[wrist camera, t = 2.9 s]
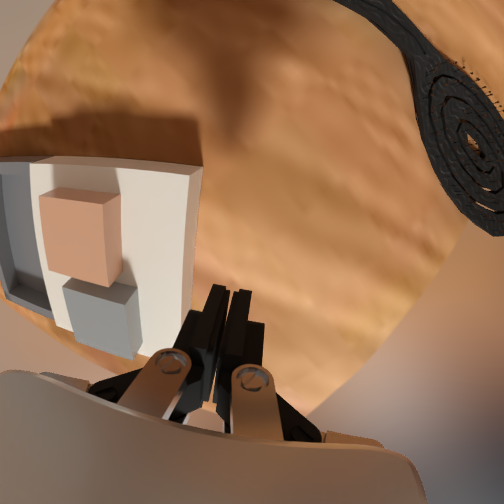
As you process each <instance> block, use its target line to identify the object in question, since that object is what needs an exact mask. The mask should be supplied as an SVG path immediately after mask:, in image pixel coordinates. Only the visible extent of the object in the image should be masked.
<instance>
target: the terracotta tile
mask: <svg viewBox="0 0 504 504" xmlns="http://www.w3.org/2000/svg"><path fill="white" fill-rule="evenodd" d="M39 208H40V218H41V227H42V234H43V241H44V247H45V253H46V259H47V264H48V269H49V271H53V272H56V273H59V274H63V275H66V276H69V277H73V278H76V279H80V280H83V281H87V282H90V283H94V284H98V285H101V286H105V287H110V286H111V284H112V283H113V282H114V281H115V280H116V279H117V278H118V276H119V275H120V274H121V273H122V272H123V259H122V238H121V194H116V193H107V192H99V191H90V190H81V189H72V188H62V187H58V188H55V189H53V190H51V191H48V192H46V193H44V194H42V195H40V196H39Z"/></svg>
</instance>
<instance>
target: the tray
mask: <svg viewBox="0 0 504 504" xmlns="http://www.w3.org/2000/svg"><path fill="white" fill-rule="evenodd" d="M50 157H53V156H7V157H0V280H1V284H2V287H3V290H4V293H5V297H6V299H8V300H10V301H12V302H14V303H16V304H18V305H20V306H22V307H25V308H27V309H29V310H31V311H34V312H36V313H38V314H41V315H43V316H45V317H48V318H50V319H53V320H55V319H54V315H53V312H52V309H51V305H50V301H49V298H48V294H47V290H46V286H45V282H44V277H43V273H42V268H41V263H40V258H39V253H38V247H37V241H36V235H35V228H34V220H33V211H32V200H31V187H30V163H33V162H36V161H40V160H43V159H46V158H50Z"/></svg>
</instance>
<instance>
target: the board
mask: <svg viewBox="0 0 504 504" xmlns="http://www.w3.org/2000/svg"><path fill="white" fill-rule="evenodd" d="M202 174H203V167H201V166H193V165H185V164H176V163H167V162H157V161H146V160H134V159H121V158H105V157H83V156H53V157H50V158H46V159H43V160H40V161H36V162H33V163H30V187H31V200H32V211H33V220H34V228H35V235H36V241H37V247H38V253H39V258H40V263H41V268H42V273H43V277H44V282H45V286H46V290H47V294H48V298H49V301H50V305H51V309H52V312H53V315H54V319H55V322H56V325H57V326H59V327H61V328H64V329H67V330H69V331H72V332H73V329H72V325H71V322H70V318H69V314H68V311H67V307H66V303H65V299H64V294H63V290H62V286H63V285H64V284H65V283H66V282H67V281H68V280H69V279H70V278H71V277H69V276H66V275H63V274H59V273H56V272H53V271H49V269H48V264H47V259H46V253H45V247H44V241H43V234H42V227H41V218H40V208H39V196H40V195H42V194H44V193H46V192H48V191H51V190H53V189H55V188H58V187H62V188H72V189H81V190H90V191H99V192H107V193H116V194H121V238H122V259H123V272H122V273H121V274H120V275H119V276H118V278H117V279H116V280H115V281H114V282H118V283H122V284H126V285H130V286H134V287H138V297H139V309H140V320H141V330H142V338H143V343H142V345H141V347H140V349H139V351H138V354H141V355H145V356H149V357H152V355H153V354H154V353H155V352H157V351H159V350H161V349H165V348H172V347H173V345H174V343H175V340H176V338H177V336H178V334H179V331H180V329H181V327H182V325H183V322H184V320H185V318H186V316H187V314H188V312H189V310H190V309H191V305H192V287H193V271H194V257H195V244H196V232H197V221H198V210H199V200H200V191H201V182H202Z"/></svg>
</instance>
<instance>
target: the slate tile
mask: <svg viewBox="0 0 504 504" xmlns="http://www.w3.org/2000/svg"><path fill="white" fill-rule="evenodd" d="M62 290H63V294H64V299H65V303H66V307H67V311H68V314H69V318H70V322H71V325H72V329H73V332H74V335H75V339H76V341H77V342H80V343H82V344H85V345H88V346H90V347H93V348H96V349H99V350H102V351H105V352H107V353H110V354H114V355H117V356H120V357H123V358H126V359H129V360H133V361H134V359H135V357H136V355H137V353H138V351H139V349H140V347H141V345H142V343H143V338H142V330H141V320H140V309H139V297H138V287H134V286H130V285H126V284H122V283H118V282H113V283H112V284H111V286H110V287H105V286H101V285H98V284H94V283H90V282H87V281H83V280H80V279H76V278H73V277H71V278H70V279H69V280H68V281H67V282H66V283H65V284H64V285H63V286H62Z"/></svg>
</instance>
